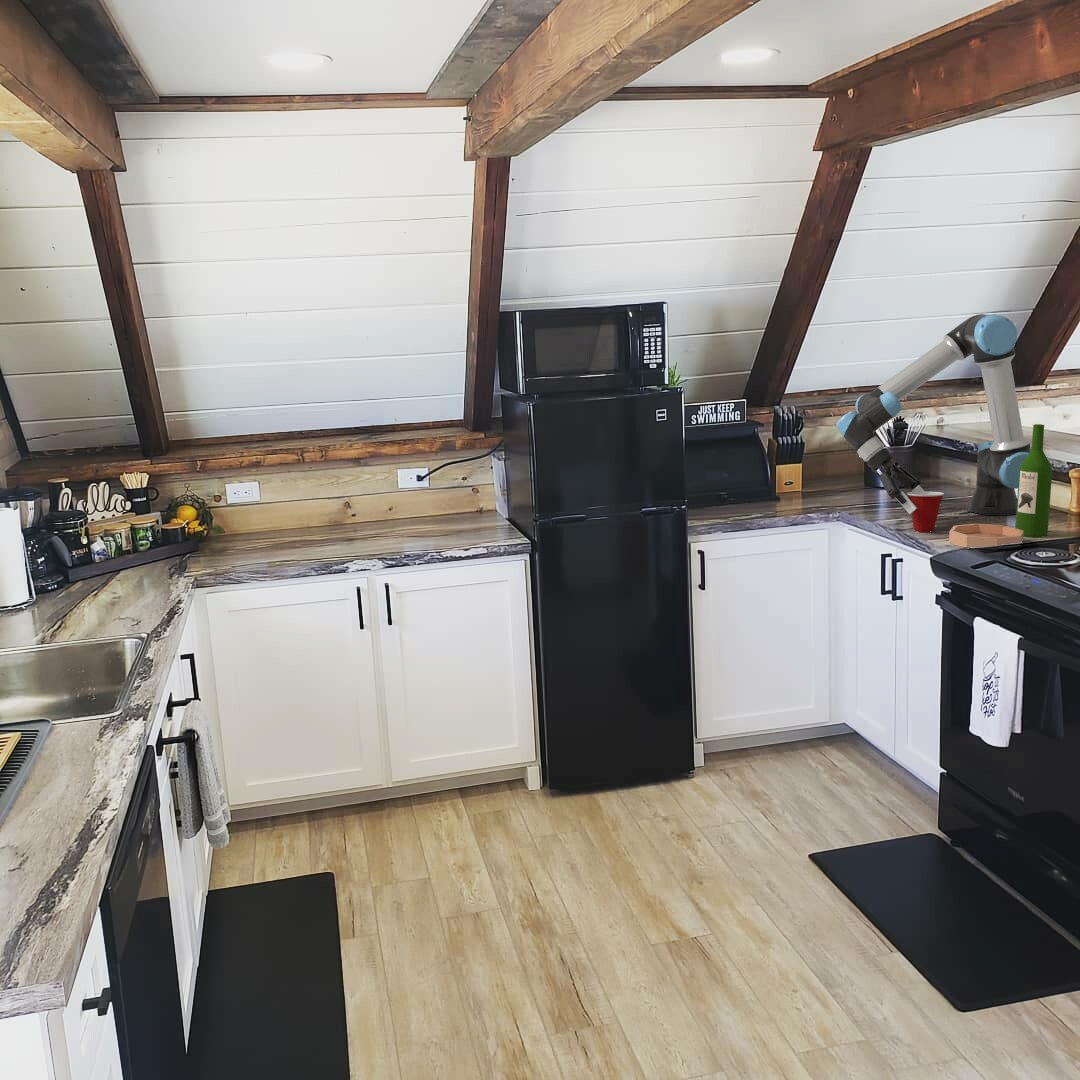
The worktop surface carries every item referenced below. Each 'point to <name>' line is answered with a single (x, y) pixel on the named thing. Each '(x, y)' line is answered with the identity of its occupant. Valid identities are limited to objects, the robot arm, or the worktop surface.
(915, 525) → the plastic cup
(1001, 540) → the terracotta bowl
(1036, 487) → the wine bottle
